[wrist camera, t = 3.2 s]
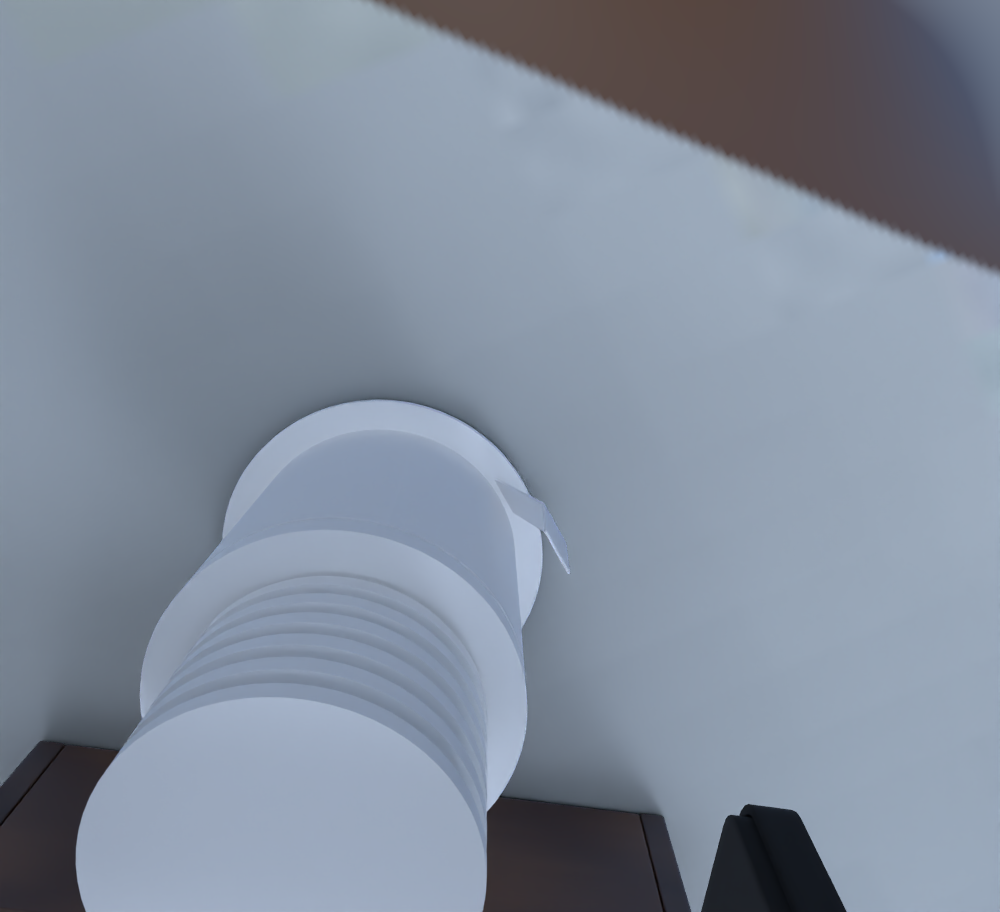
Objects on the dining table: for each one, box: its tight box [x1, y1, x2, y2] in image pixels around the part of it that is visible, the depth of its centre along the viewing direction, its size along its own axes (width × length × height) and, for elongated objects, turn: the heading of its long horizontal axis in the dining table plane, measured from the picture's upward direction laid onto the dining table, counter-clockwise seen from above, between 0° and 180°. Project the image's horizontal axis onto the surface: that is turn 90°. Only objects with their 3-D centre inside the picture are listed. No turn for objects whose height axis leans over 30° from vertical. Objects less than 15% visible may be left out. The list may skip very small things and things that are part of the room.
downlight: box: [76, 399, 571, 912], centre depth 14 cm, size 8×7×10 cm
